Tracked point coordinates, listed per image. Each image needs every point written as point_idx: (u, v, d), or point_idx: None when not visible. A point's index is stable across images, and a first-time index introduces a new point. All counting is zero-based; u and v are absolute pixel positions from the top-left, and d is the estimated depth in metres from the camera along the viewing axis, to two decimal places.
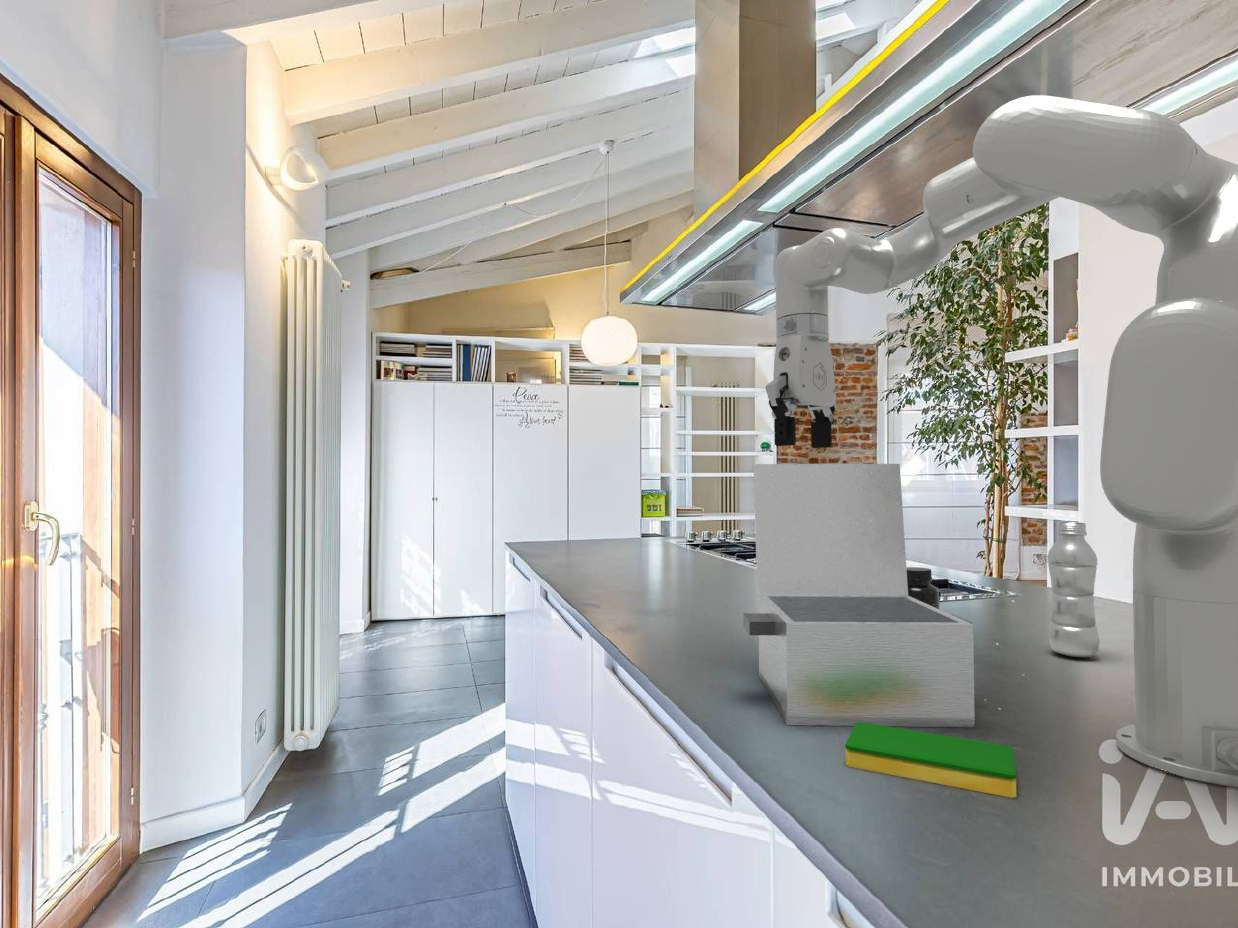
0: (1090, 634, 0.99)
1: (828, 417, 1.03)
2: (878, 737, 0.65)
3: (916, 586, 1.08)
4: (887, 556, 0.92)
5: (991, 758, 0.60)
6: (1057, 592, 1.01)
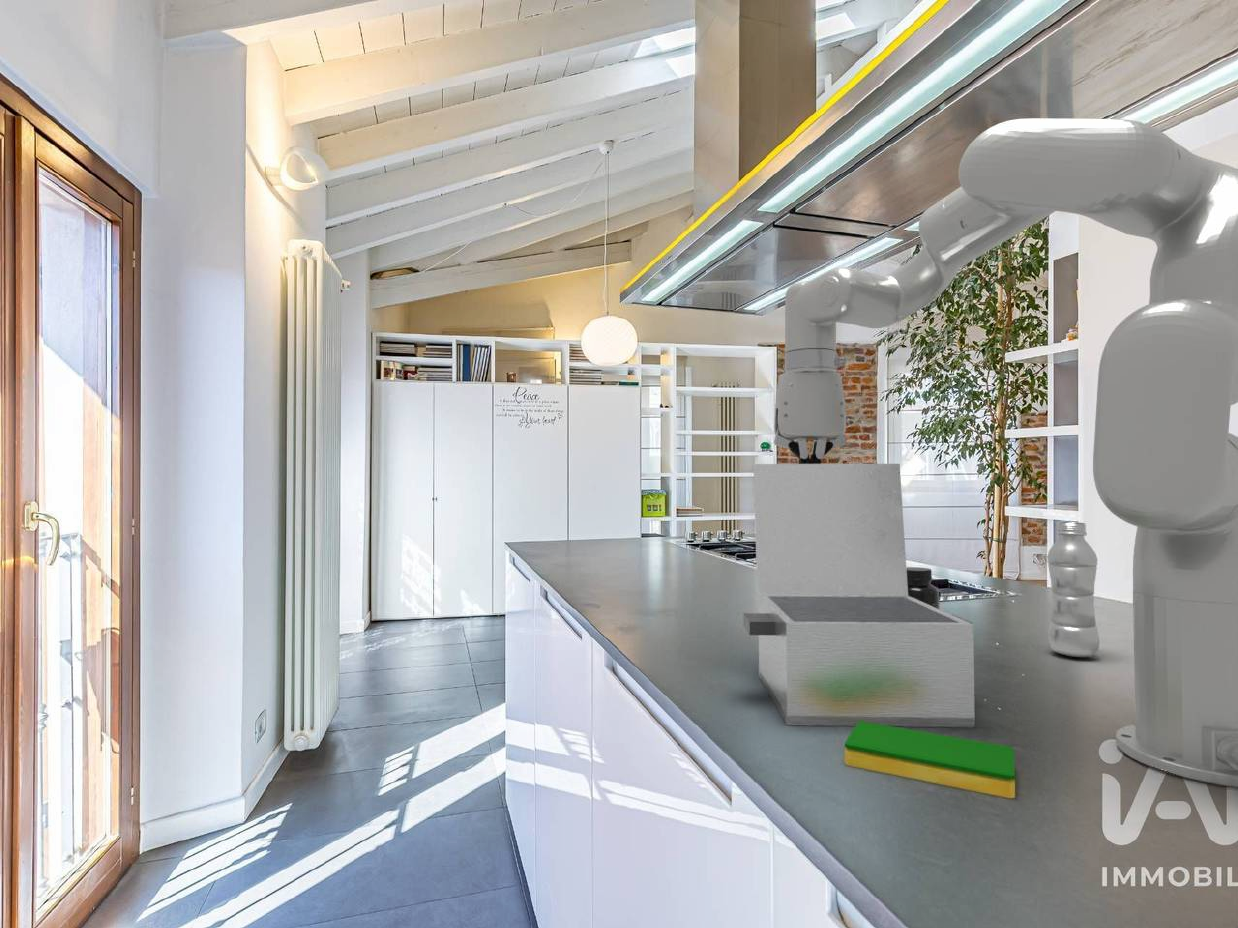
0: (1090, 634, 0.99)
1: None
2: (878, 736, 0.65)
3: (917, 586, 1.08)
4: (887, 556, 0.92)
5: (991, 759, 0.60)
6: (1057, 592, 1.01)
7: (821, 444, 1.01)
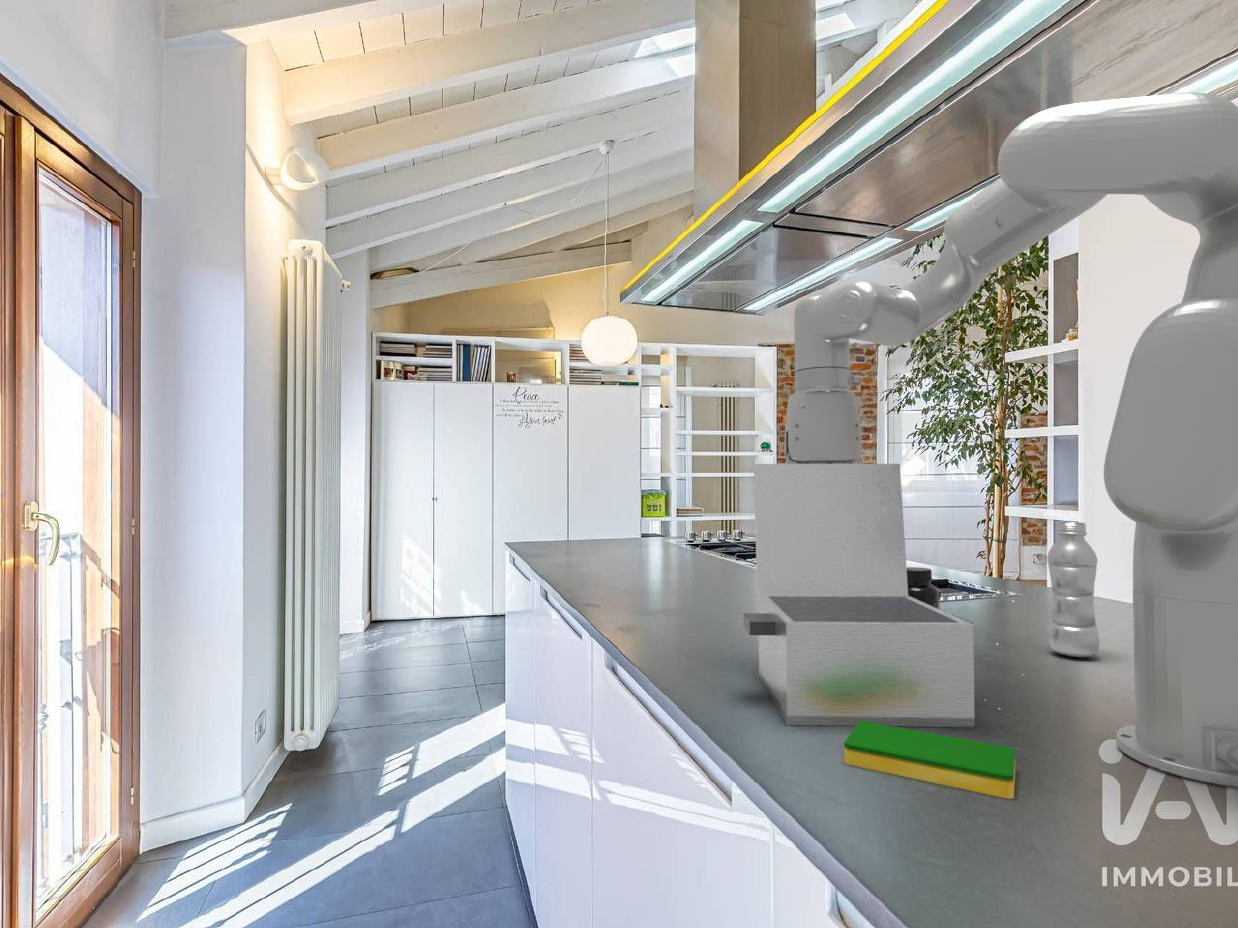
0: (1090, 634, 0.99)
1: None
2: (878, 736, 0.65)
3: (917, 586, 1.08)
4: (887, 556, 0.92)
5: (990, 759, 0.59)
6: (1057, 592, 1.01)
7: None
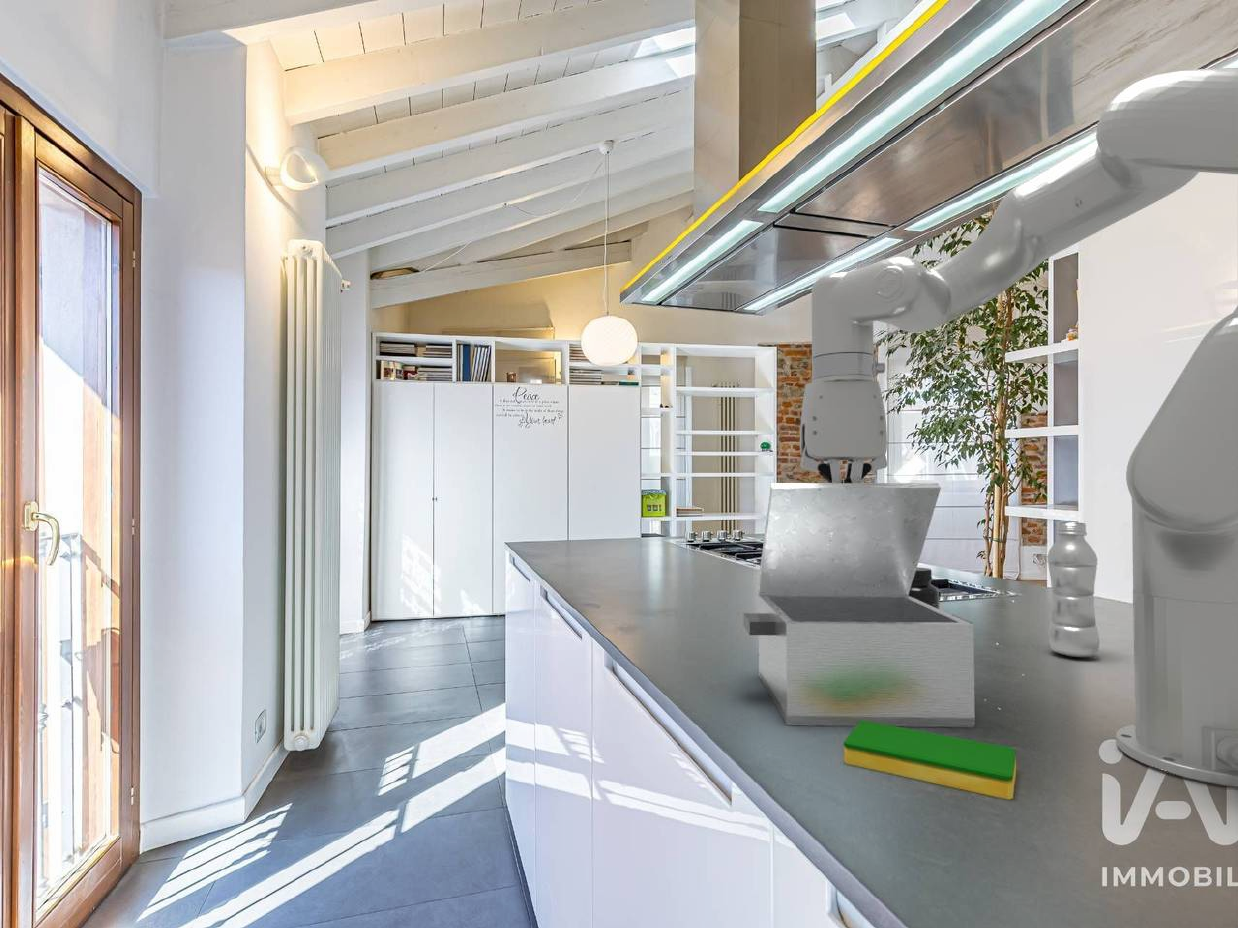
0: (1090, 634, 0.99)
1: None
2: (878, 736, 0.65)
3: (917, 586, 1.08)
4: (897, 566, 0.88)
5: (990, 760, 0.59)
6: (1057, 592, 1.01)
7: (857, 467, 0.85)
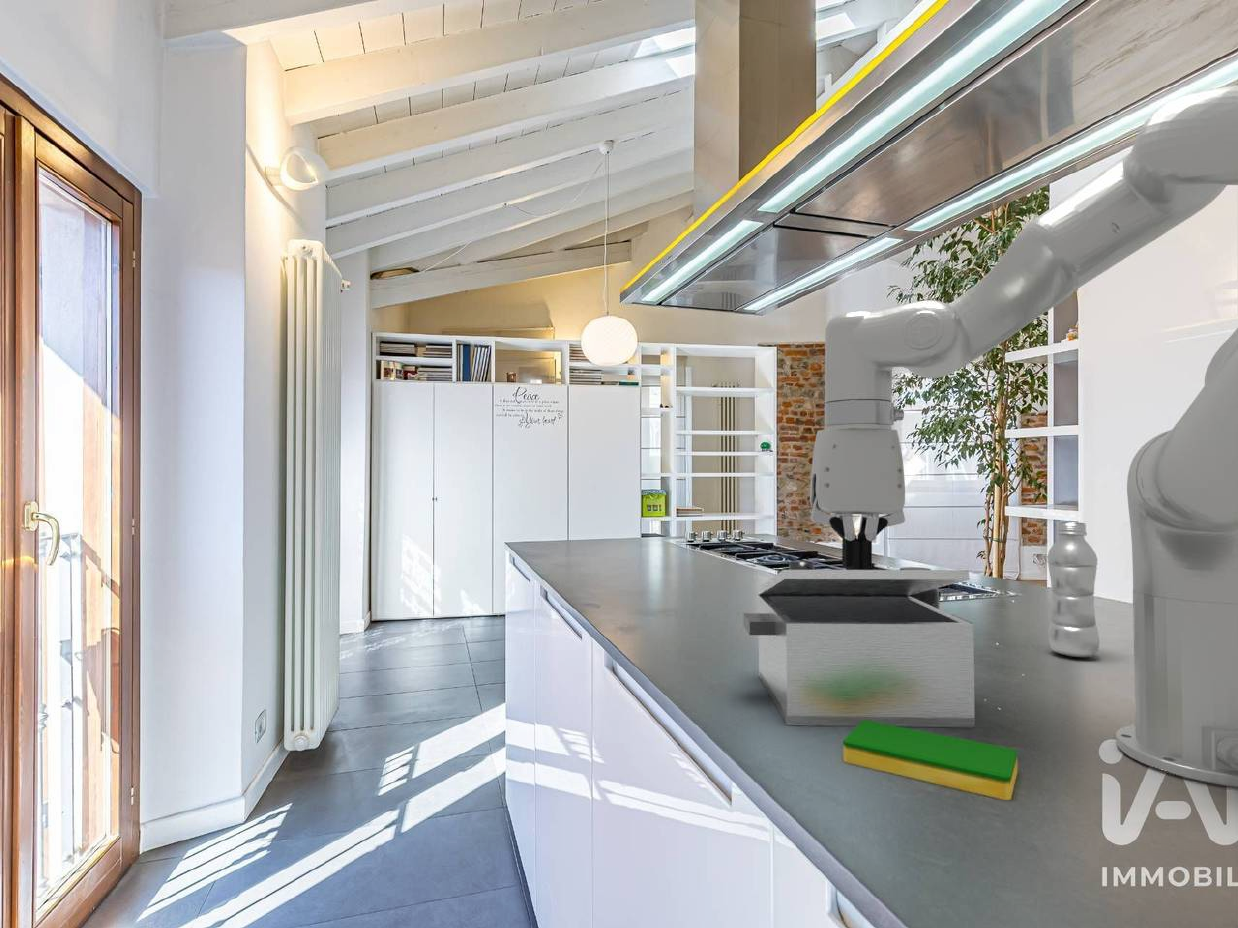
0: (1090, 634, 0.99)
1: None
2: (879, 735, 0.65)
3: None
4: (903, 591, 0.86)
5: (989, 760, 0.59)
6: (1057, 592, 1.01)
7: (872, 522, 0.79)
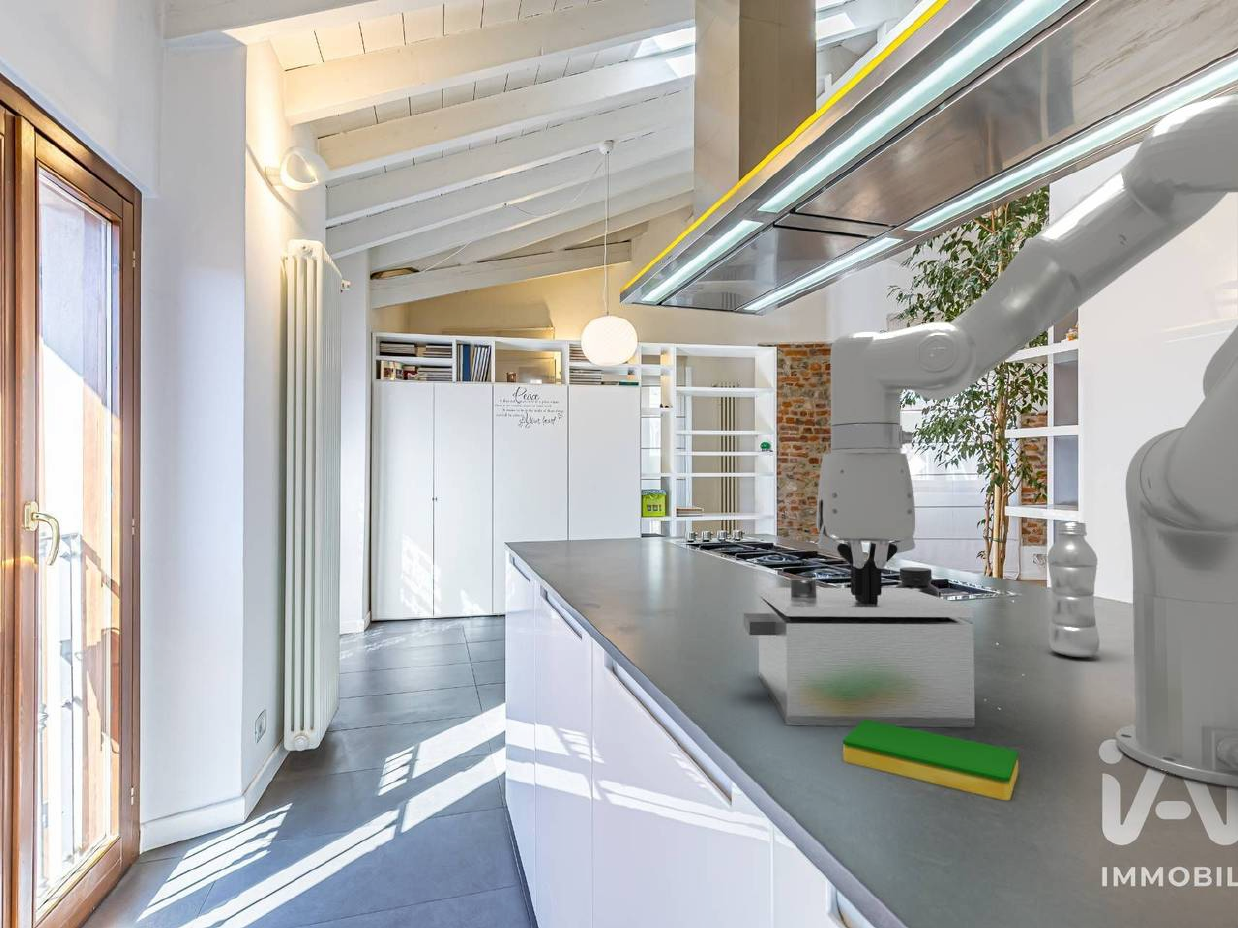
0: (1090, 634, 0.99)
1: None
2: (879, 735, 0.65)
3: (917, 586, 1.08)
4: None
5: (989, 761, 0.59)
6: (1057, 592, 1.01)
7: (882, 549, 0.76)
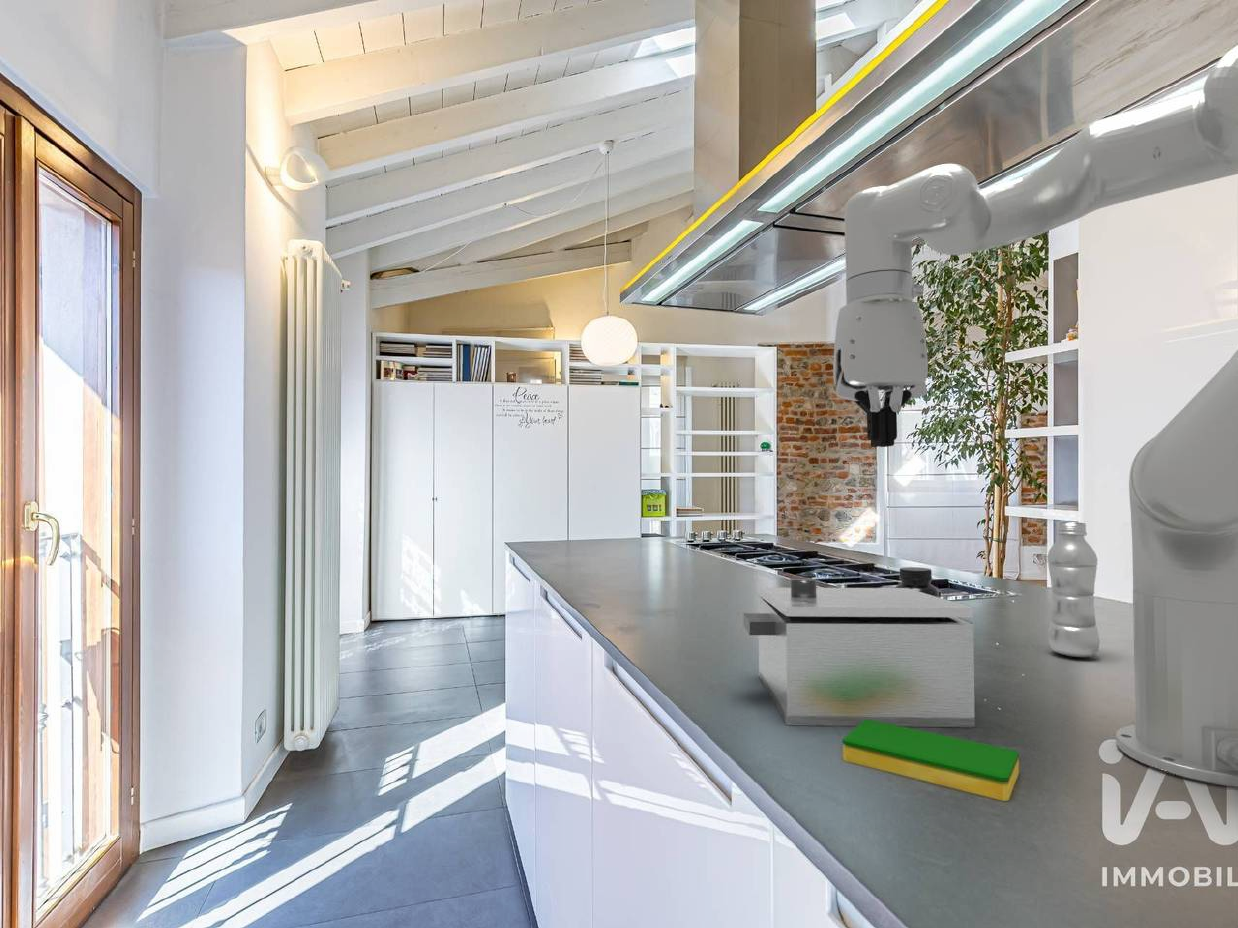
0: (1090, 634, 0.99)
1: None
2: (879, 734, 0.65)
3: (917, 586, 1.08)
4: None
5: (988, 761, 0.59)
6: (1057, 592, 1.01)
7: (897, 393, 0.80)
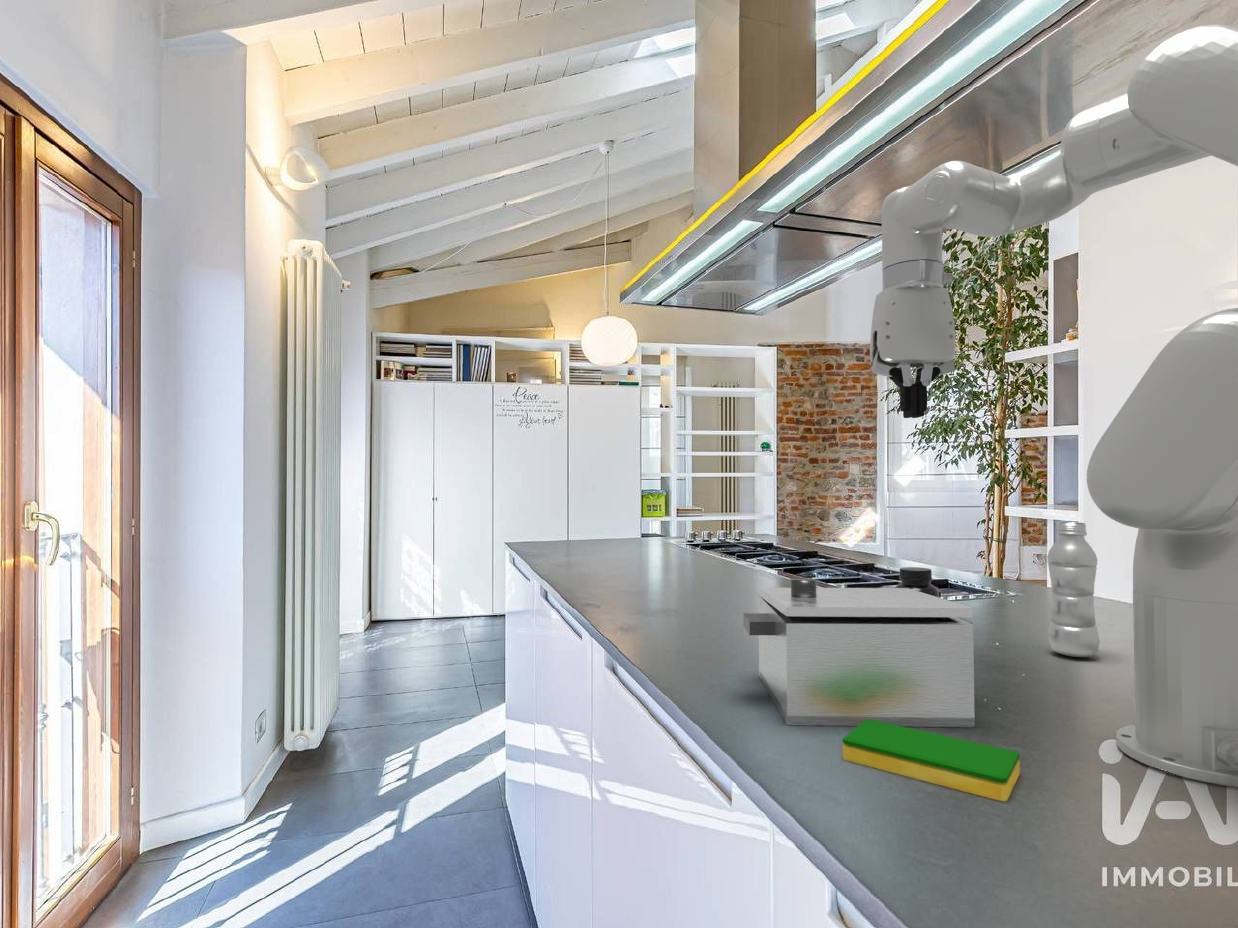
0: (1090, 634, 0.99)
1: None
2: (879, 734, 0.66)
3: (916, 586, 1.08)
4: None
5: (988, 761, 0.59)
6: (1057, 592, 1.01)
7: (927, 370, 0.90)
